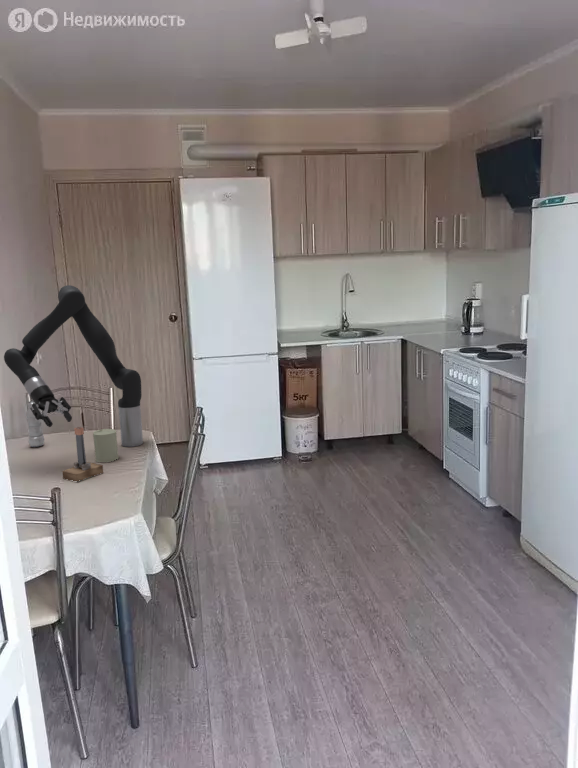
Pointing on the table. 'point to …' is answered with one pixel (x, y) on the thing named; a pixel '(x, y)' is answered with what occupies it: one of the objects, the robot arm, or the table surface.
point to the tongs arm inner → (83, 445)
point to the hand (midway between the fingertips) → (60, 423)
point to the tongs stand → (82, 471)
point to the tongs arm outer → (79, 446)
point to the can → (105, 445)
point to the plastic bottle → (34, 428)
